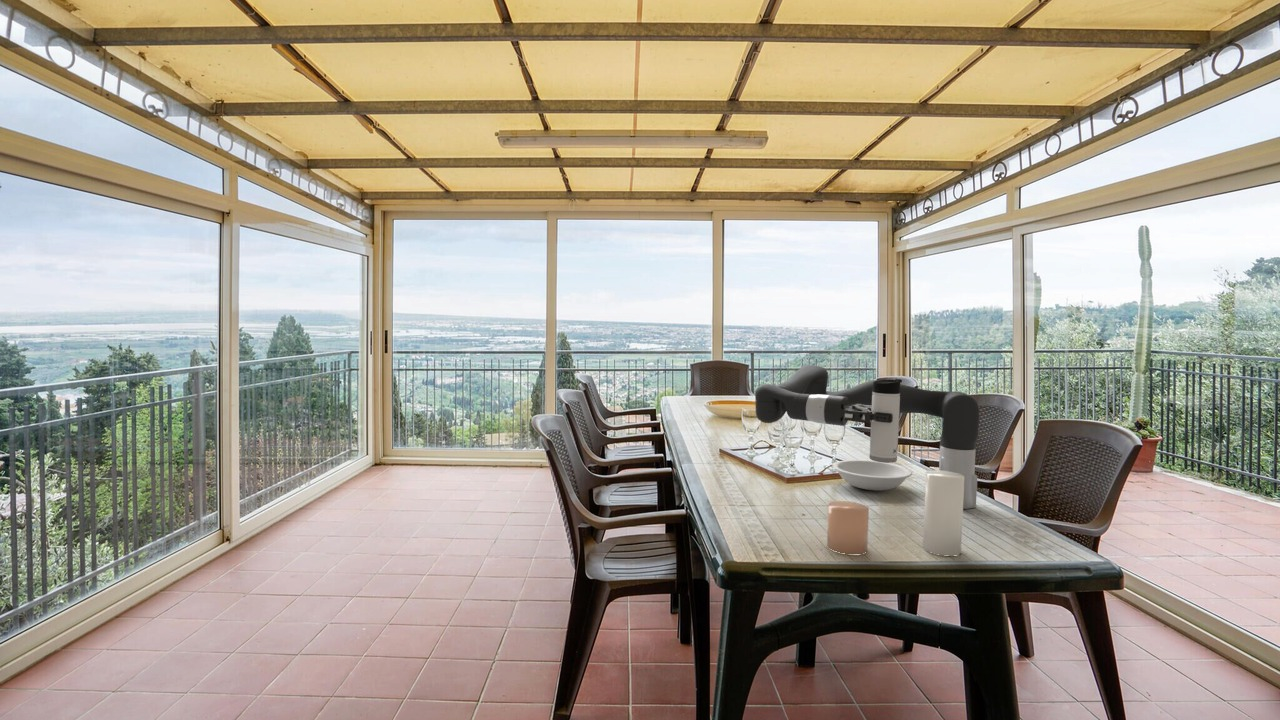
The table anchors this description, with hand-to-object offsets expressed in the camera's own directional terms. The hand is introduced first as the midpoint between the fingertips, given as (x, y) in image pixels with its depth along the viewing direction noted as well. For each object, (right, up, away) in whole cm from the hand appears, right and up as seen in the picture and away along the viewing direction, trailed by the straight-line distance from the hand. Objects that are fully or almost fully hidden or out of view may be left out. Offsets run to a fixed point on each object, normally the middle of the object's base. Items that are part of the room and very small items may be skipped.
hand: (895, 416), depth 142 cm
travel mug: (-2, -11, +2) cm, 11 cm away
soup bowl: (+13, -28, +49) cm, 58 cm away
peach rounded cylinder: (-13, -31, -4) cm, 34 cm away
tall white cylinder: (+9, -31, -4) cm, 33 cm away
